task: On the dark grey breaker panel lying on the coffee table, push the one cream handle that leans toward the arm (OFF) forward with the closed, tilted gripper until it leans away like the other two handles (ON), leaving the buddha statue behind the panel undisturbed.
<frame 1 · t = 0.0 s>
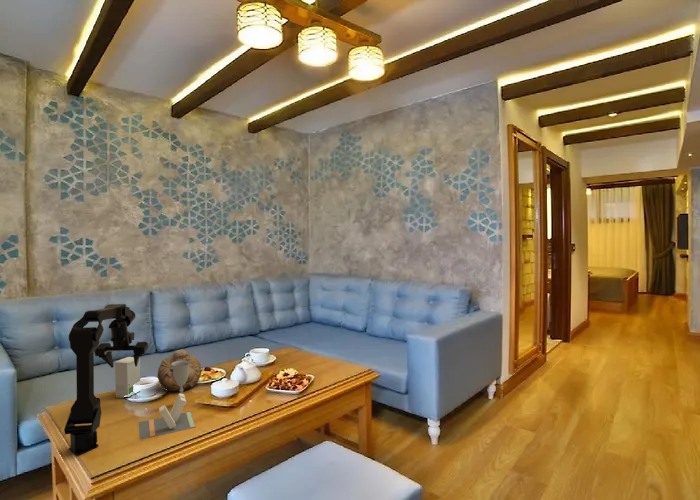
hand: (124, 366, 166), 15 cm above the table, tool pointing down, fingers open, 9 cm apart
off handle: (167, 417, 143), point 6 cm above the table, hinge at -25.0°
breaker panel: (167, 427, 146), on the table
chalice: (181, 406, 164), on the table
buddha statue: (181, 386, 184), on the table
skincare box: (128, 394, 175), on the table
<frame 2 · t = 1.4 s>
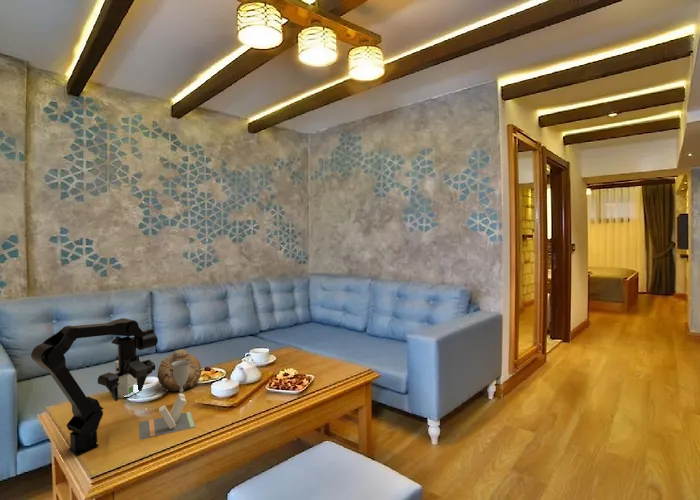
hand: (128, 395, 145), 12 cm above the table, tool pointing down, fingers open, 9 cm apart
nothing on the table moved.
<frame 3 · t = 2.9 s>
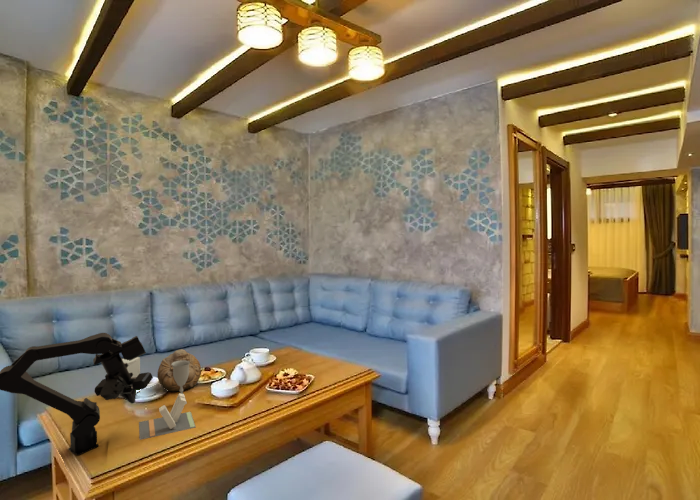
hand: (133, 402, 142), 11 cm above the table, tool tilted 20°, fingers closed
nothing on the table moved.
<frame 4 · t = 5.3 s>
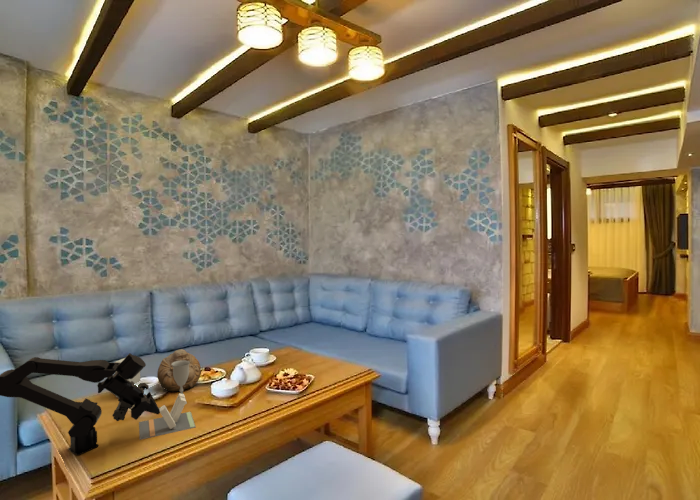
hand: (159, 412, 141), 8 cm above the table, tool tilted 45°, fingers closed, pressing on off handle
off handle: (167, 417, 143), point 6 cm above the table, hinge at -24.9°, touching gripper
everything else where it was.
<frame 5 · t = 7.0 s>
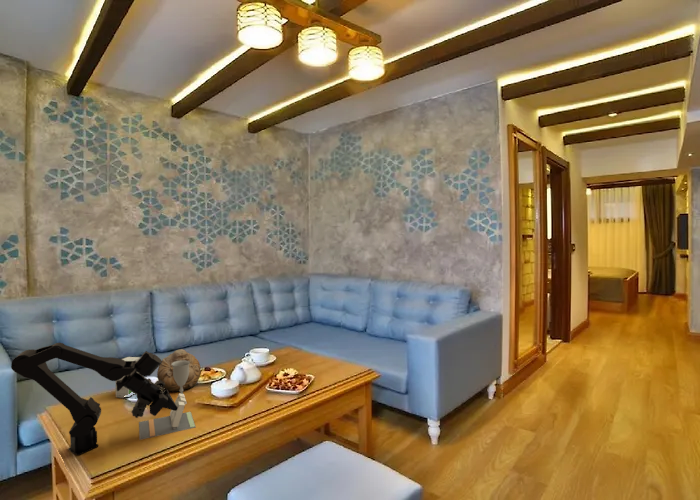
hand: (176, 409, 144), 8 cm above the table, tool tilted 45°, fingers closed, pressing on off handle
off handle: (178, 414, 145), point 6 cm above the table, hinge at 17.9°, touching gripper
everything else where it was.
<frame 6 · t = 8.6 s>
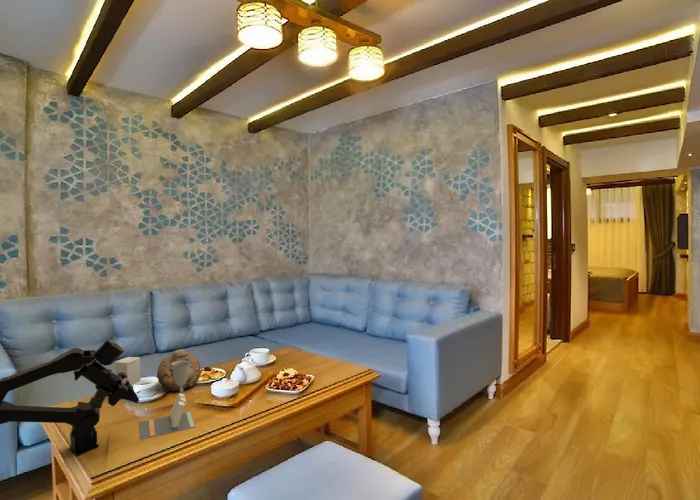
hand: (138, 401, 139), 13 cm above the table, tool tilted 45°, fingers closed
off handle: (178, 414, 145), point 6 cm above the table, hinge at 18.1°
everything else where it was.
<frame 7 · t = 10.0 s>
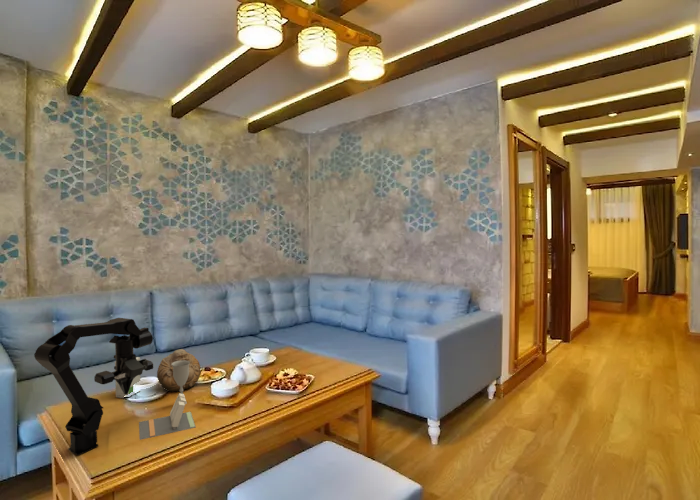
hand: (125, 393, 147), 12 cm above the table, tool pointing down, fingers closed
nothing on the table moved.
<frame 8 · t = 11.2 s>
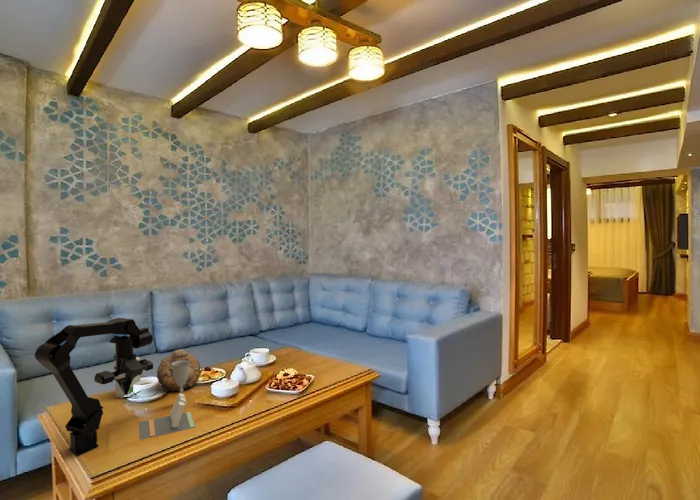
hand: (125, 394, 147), 12 cm above the table, tool pointing down, fingers closed
nothing on the table moved.
at the end: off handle at +18° (first picture: -25°); buddha statue tilted 0° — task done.
